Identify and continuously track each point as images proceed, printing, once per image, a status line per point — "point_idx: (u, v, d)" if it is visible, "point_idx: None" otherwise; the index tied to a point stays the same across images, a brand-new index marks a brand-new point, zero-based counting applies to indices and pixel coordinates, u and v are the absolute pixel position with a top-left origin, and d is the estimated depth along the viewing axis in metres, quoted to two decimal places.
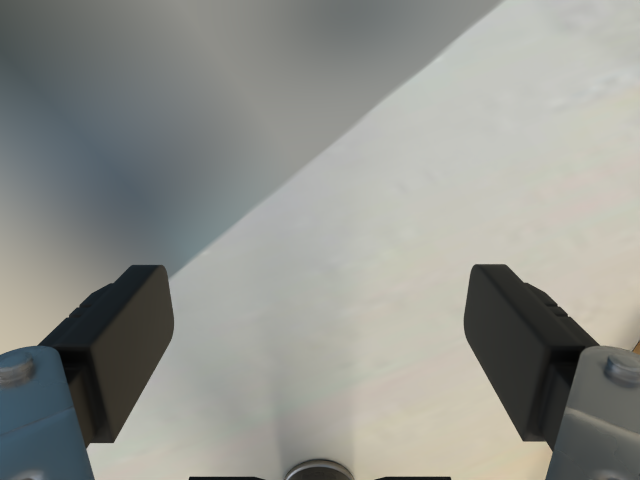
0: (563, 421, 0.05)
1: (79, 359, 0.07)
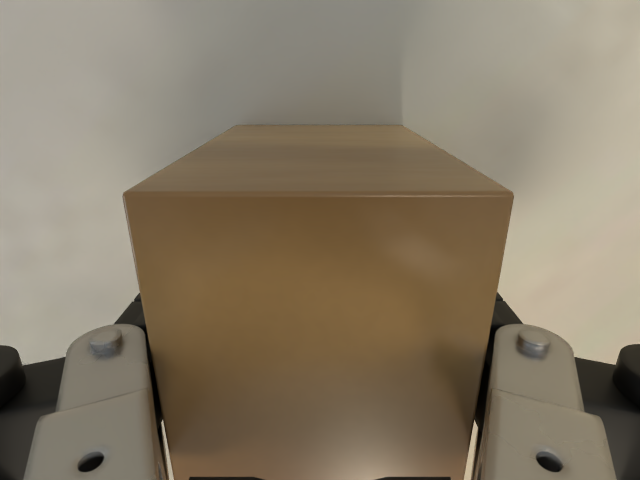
0: (492, 404, 0.05)
1: None
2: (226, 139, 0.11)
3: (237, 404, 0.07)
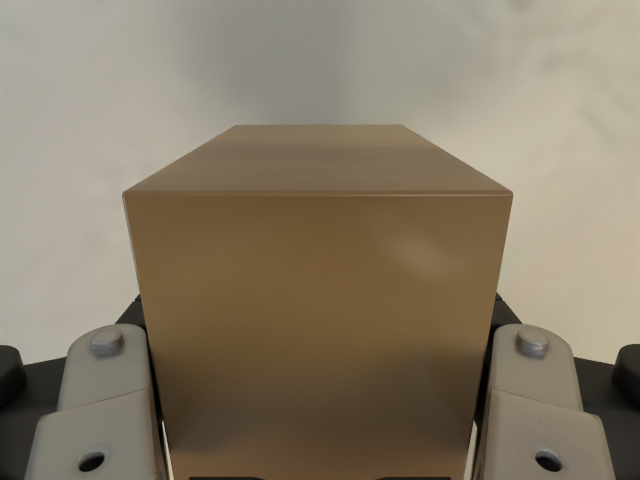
0: (491, 403, 0.05)
1: None
2: (226, 139, 0.11)
3: (237, 403, 0.07)
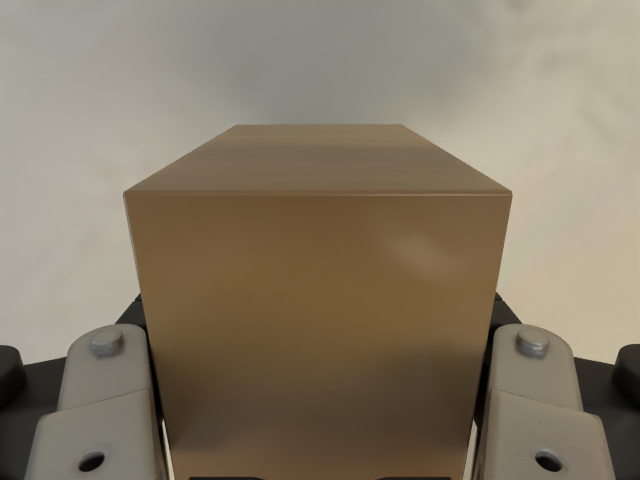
0: (491, 403, 0.05)
1: None
2: (226, 139, 0.11)
3: (237, 402, 0.07)
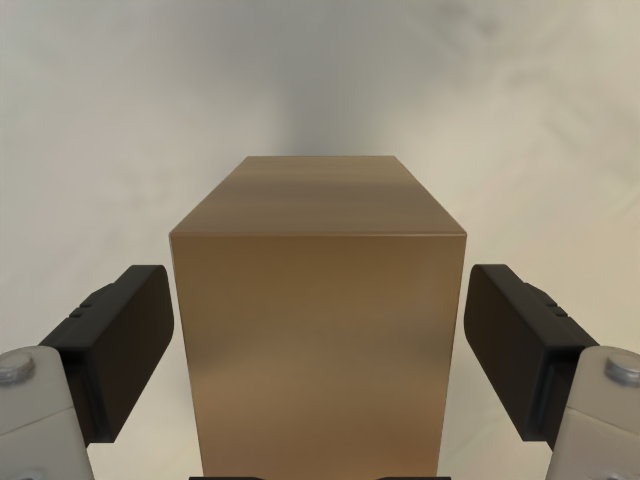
0: (563, 421, 0.05)
1: (79, 359, 0.07)
2: (241, 174, 0.13)
3: (253, 397, 0.09)
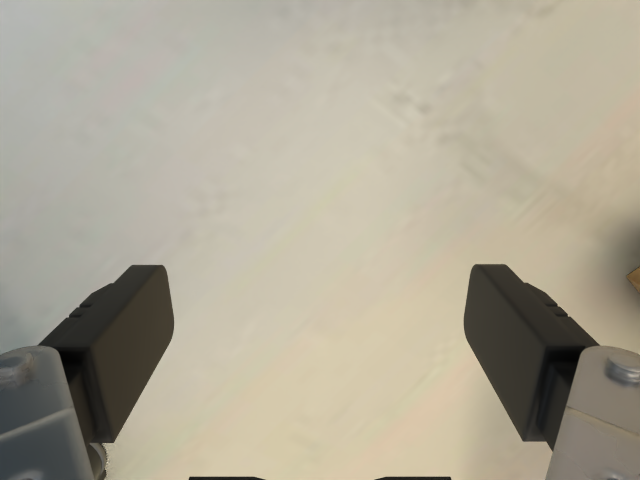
0: (563, 421, 0.05)
1: (79, 359, 0.07)
2: None
3: None
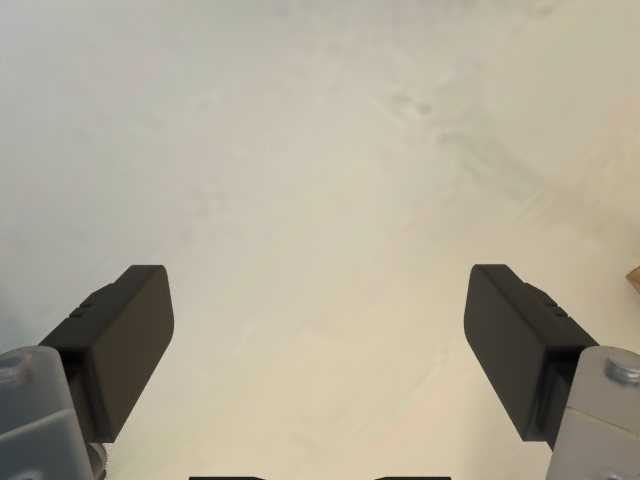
0: (563, 421, 0.05)
1: (79, 359, 0.07)
2: None
3: None
